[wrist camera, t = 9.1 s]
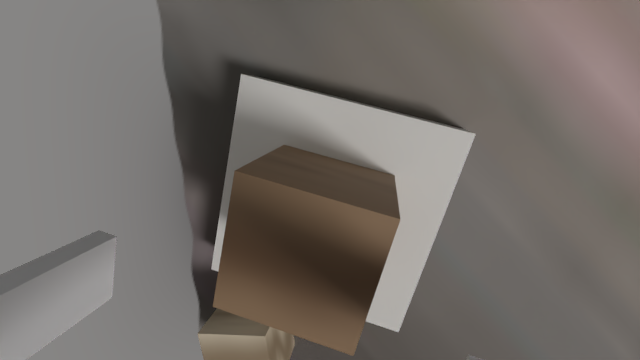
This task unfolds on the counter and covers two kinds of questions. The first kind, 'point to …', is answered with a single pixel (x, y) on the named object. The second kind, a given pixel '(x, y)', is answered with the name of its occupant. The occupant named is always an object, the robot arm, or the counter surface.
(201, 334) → the maple block
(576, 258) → the counter surface
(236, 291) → the walnut cube
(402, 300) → the tile
